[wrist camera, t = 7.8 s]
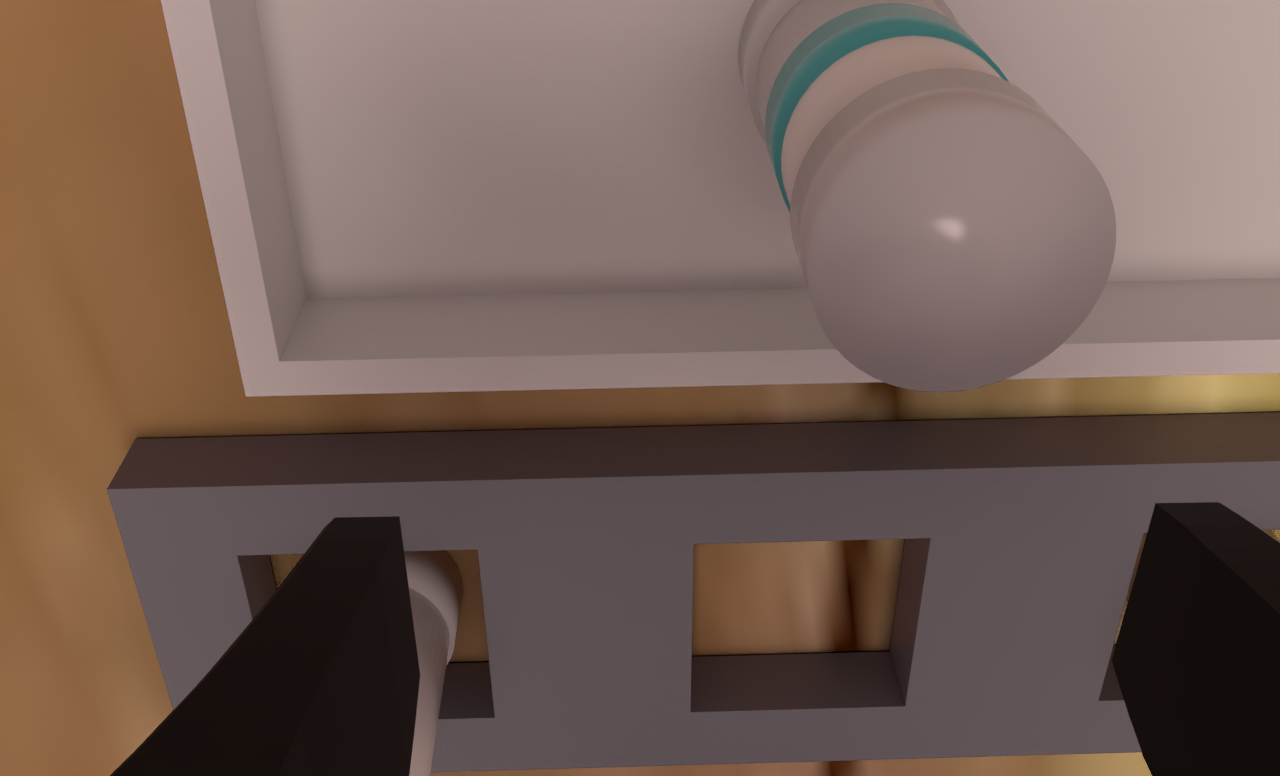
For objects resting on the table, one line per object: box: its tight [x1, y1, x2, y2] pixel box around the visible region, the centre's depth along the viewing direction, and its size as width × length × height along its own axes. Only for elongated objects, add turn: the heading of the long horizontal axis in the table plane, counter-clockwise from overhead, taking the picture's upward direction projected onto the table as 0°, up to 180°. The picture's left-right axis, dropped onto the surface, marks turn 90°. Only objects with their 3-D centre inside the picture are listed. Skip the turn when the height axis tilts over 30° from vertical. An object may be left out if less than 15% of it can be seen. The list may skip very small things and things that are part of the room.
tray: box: [161, 0, 1280, 397], centre depth 17 cm, size 10×18×2 cm, turn 90°
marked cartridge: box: [738, 0, 1116, 392], centre depth 15 cm, size 3×3×7 cm
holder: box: [107, 412, 1280, 772], centre depth 23 cm, size 7×24×2 cm, turn 90°
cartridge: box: [404, 550, 462, 776], centre depth 21 cm, size 3×3×7 cm
